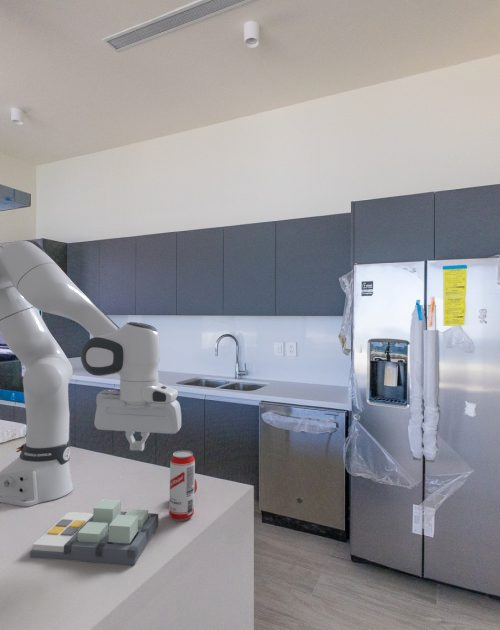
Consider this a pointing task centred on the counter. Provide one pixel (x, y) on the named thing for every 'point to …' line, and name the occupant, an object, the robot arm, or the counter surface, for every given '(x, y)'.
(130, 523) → the button
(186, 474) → the beer can
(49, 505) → the counter surface
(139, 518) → the button
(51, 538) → the board
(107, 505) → the button
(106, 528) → the button
